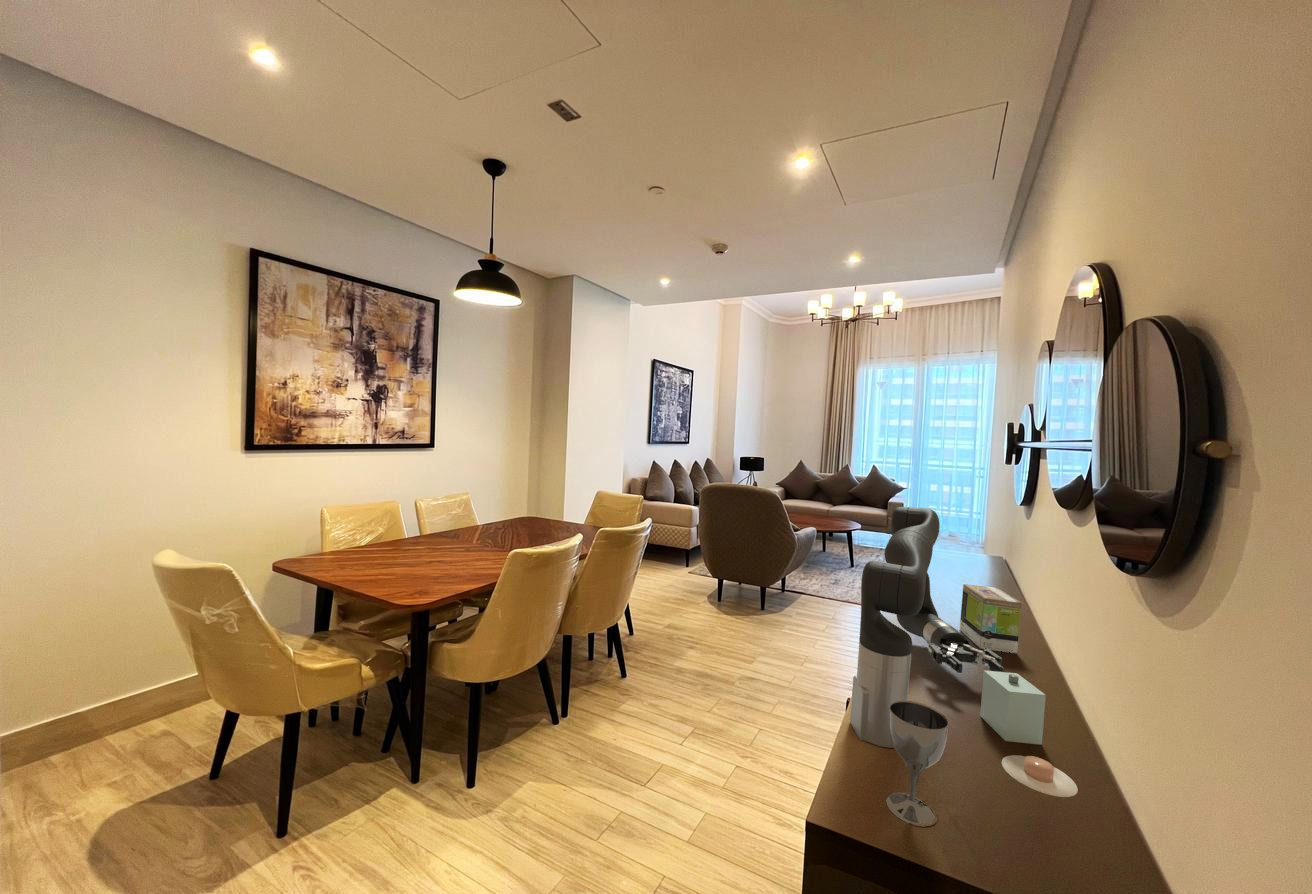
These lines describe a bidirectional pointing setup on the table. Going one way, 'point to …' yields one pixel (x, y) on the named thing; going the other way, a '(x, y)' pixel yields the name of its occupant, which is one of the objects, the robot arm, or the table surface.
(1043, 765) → the pink rounded disc
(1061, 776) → the plate
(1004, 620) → the tea box
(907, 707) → the wine glass
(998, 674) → the cloche
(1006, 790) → the table surface
